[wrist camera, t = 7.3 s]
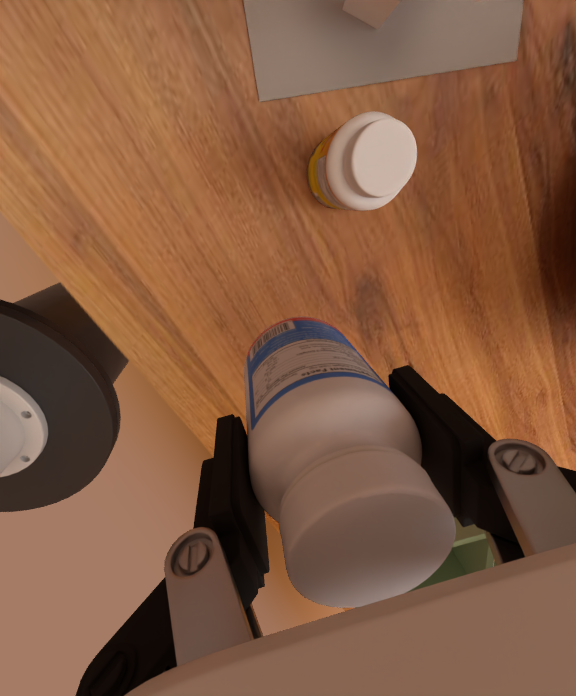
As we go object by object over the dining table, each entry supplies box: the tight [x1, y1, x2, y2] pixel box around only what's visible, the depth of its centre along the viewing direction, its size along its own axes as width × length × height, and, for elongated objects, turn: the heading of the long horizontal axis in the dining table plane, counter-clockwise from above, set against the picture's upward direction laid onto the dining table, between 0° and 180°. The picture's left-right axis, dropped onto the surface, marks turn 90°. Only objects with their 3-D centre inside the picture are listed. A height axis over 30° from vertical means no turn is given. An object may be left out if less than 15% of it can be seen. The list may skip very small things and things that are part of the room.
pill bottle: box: [244, 317, 456, 608], centre depth 12 cm, size 6×5×10 cm
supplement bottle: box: [307, 112, 417, 211], centre depth 23 cm, size 6×6×10 cm
